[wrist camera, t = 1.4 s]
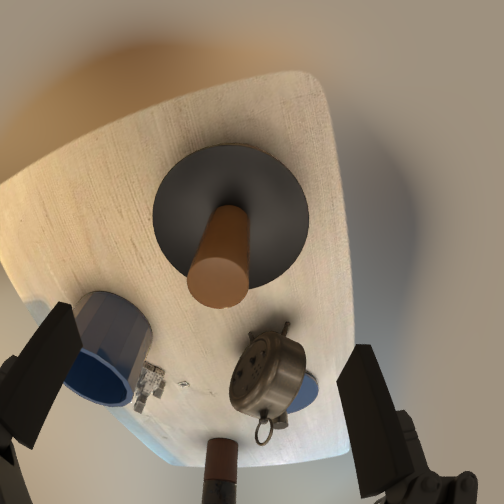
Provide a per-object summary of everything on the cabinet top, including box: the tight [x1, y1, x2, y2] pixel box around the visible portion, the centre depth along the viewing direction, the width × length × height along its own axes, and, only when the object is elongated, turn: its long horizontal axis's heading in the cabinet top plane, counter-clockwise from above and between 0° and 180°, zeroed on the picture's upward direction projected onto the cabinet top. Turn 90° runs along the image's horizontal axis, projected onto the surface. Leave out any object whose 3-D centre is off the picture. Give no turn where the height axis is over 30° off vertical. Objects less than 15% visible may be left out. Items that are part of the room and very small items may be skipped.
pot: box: [63, 291, 152, 407], centre depth 34 cm, size 13×13×10 cm
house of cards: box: [134, 362, 190, 414], centre depth 41 cm, size 9×9×8 cm
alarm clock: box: [229, 322, 306, 446], centre depth 32 cm, size 11×5×16 cm, turn 147°
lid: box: [153, 144, 309, 309], centre depth 21 cm, size 14×14×10 cm
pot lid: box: [272, 373, 318, 429], centre depth 41 cm, size 14×14×7 cm
